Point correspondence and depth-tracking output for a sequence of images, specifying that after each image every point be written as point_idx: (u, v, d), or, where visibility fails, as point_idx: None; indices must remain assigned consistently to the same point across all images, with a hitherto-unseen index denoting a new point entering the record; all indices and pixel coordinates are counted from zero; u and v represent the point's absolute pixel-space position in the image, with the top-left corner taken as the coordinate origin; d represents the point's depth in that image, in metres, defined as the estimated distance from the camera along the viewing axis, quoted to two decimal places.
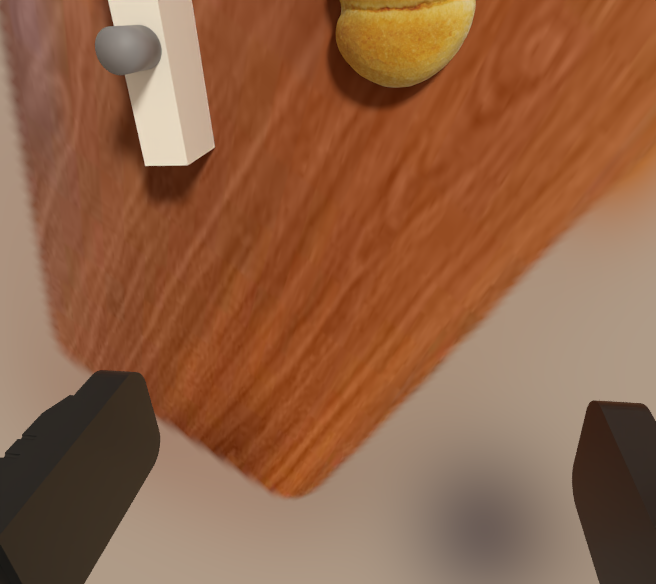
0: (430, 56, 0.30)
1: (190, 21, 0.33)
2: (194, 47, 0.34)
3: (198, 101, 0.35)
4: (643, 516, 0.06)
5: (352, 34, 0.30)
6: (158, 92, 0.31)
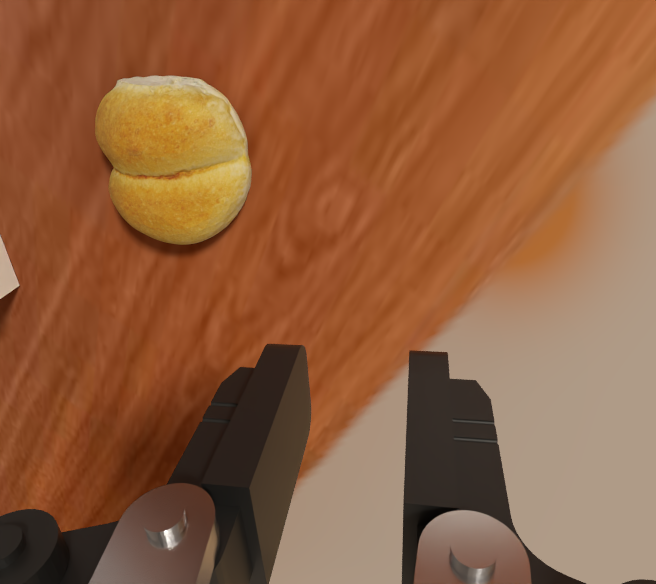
0: (200, 223, 0.27)
1: None
2: None
3: None
4: None
5: (116, 198, 0.28)
6: None
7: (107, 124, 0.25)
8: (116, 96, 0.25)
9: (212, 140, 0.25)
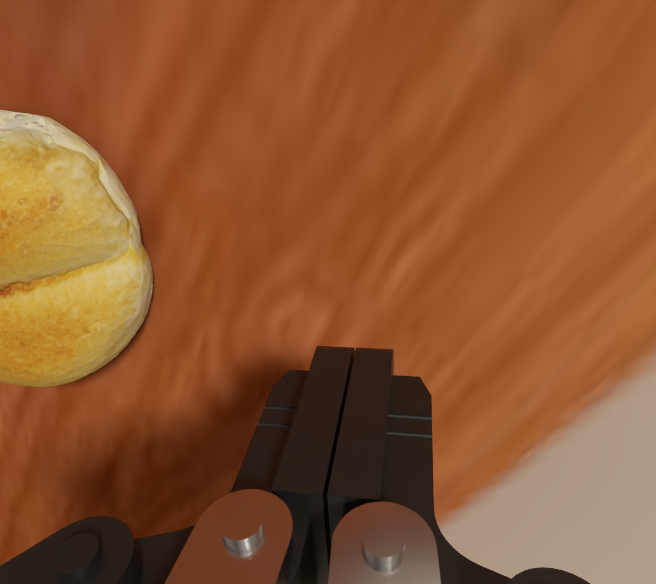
0: (59, 364, 0.16)
1: None
2: None
3: None
4: None
5: None
6: None
7: None
8: None
9: (61, 232, 0.14)
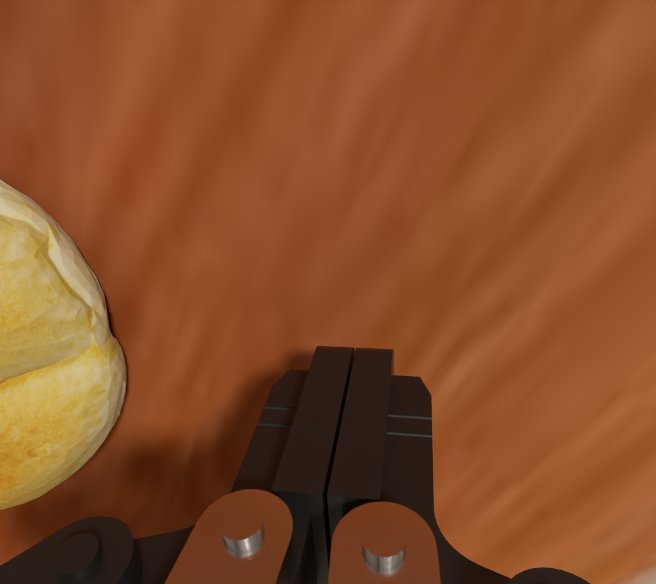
0: None
1: None
2: None
3: None
4: None
5: None
6: None
7: None
8: None
9: None
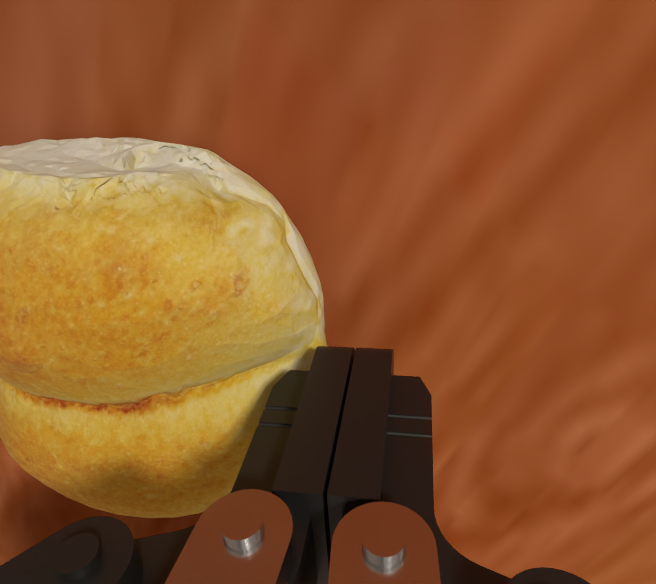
0: (204, 498, 0.11)
1: None
2: None
3: None
4: None
5: None
6: None
7: None
8: None
9: (242, 327, 0.09)
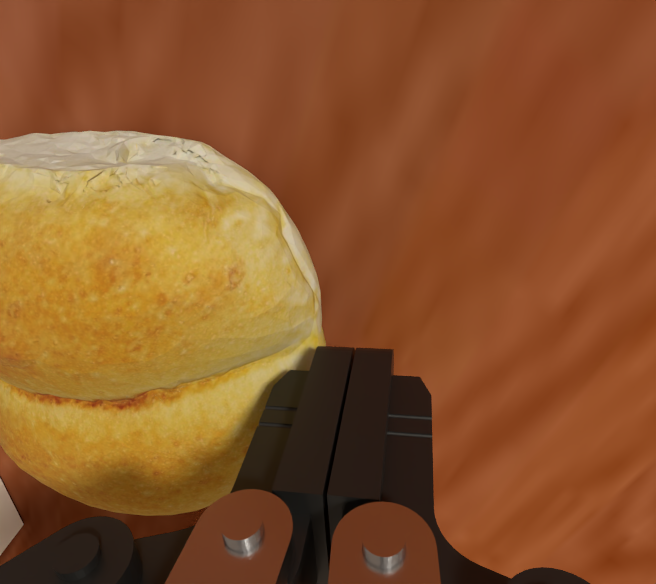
0: (201, 495, 0.11)
1: None
2: None
3: None
4: None
5: None
6: None
7: None
8: None
9: (237, 320, 0.09)
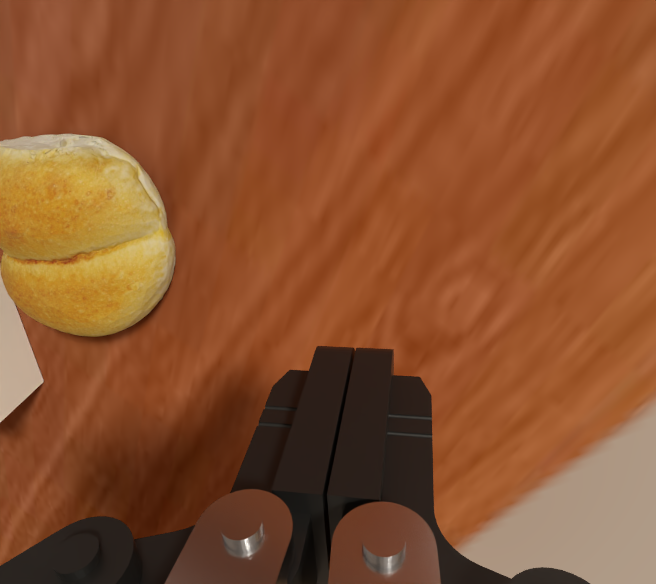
0: (109, 315, 0.22)
1: None
2: None
3: (1, 344, 0.25)
4: None
5: (6, 286, 0.22)
6: None
7: None
8: None
9: (113, 215, 0.20)
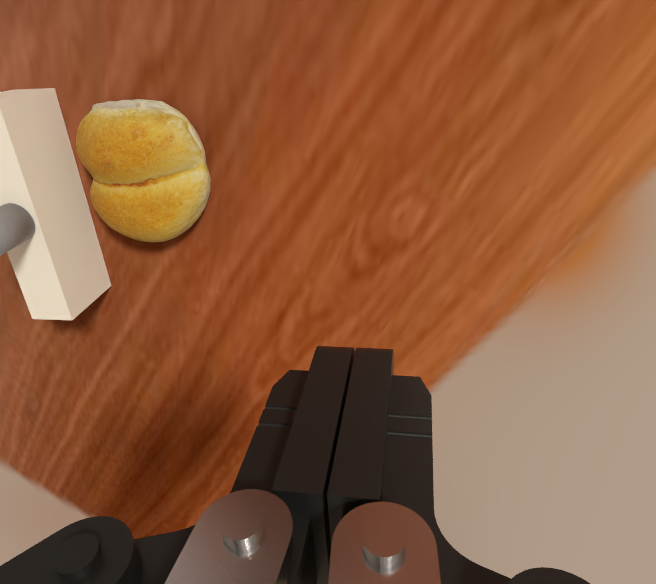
0: (167, 223, 0.32)
1: (73, 182, 0.34)
2: (79, 204, 0.35)
3: (86, 252, 0.36)
4: None
5: (96, 204, 0.33)
6: (36, 259, 0.33)
7: (85, 142, 0.30)
8: (91, 118, 0.30)
9: (173, 152, 0.30)
